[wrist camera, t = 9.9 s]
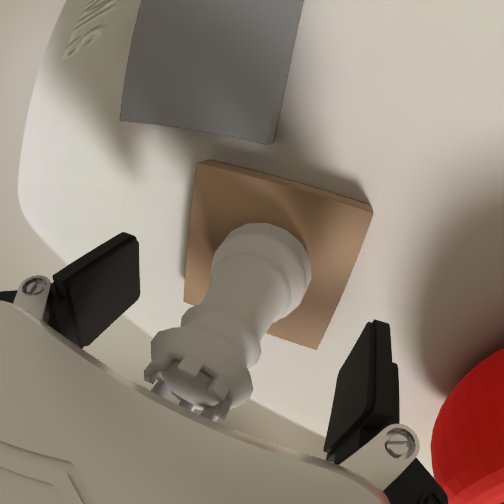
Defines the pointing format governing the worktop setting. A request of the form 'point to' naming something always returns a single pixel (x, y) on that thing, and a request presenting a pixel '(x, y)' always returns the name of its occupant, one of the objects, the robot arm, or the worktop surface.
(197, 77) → the charcoal coaster
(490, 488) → the tomato
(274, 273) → the rook chess piece
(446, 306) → the worktop surface
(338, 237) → the walnut coaster
